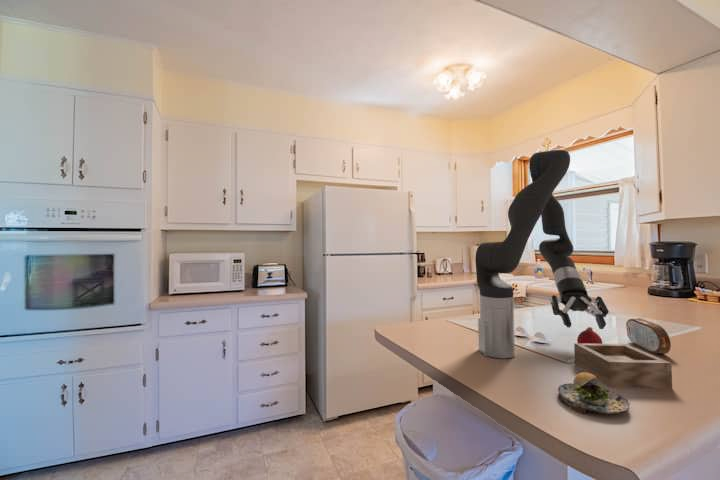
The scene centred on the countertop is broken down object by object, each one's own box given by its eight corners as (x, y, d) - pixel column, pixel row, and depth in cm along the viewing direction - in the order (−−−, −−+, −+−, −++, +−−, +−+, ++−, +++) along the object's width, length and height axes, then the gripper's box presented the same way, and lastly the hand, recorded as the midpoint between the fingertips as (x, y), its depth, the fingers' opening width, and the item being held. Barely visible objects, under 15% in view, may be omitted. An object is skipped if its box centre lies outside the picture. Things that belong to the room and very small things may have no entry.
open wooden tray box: (610, 388, 69) (609, 361, 69) (574, 365, 82) (574, 343, 82) (672, 390, 68) (671, 363, 68) (626, 366, 81) (625, 343, 81)
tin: (672, 358, 85) (671, 328, 85) (659, 357, 86) (658, 327, 86) (635, 341, 100) (634, 315, 100) (624, 340, 101) (623, 315, 101)
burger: (584, 421, 56) (583, 381, 57) (545, 391, 68) (544, 357, 68) (648, 420, 56) (647, 380, 57) (599, 390, 68) (598, 356, 68)
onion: (595, 359, 85) (595, 331, 85) (573, 353, 90) (572, 326, 90) (606, 355, 88) (605, 328, 88) (584, 349, 93) (583, 323, 93)
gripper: (547, 276, 101) (561, 319, 90) (597, 276, 98) (618, 321, 87) (543, 289, 107) (555, 332, 95) (590, 290, 103) (609, 334, 92)
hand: (585, 327), depth 91 cm, fingers open, 8 cm apart
